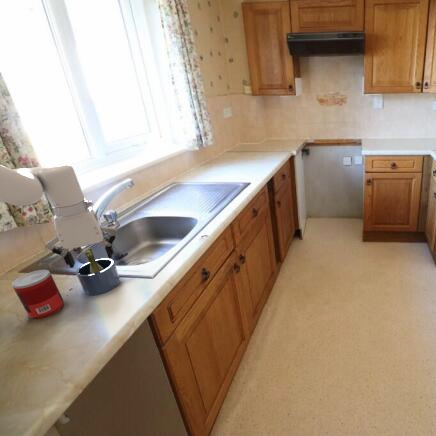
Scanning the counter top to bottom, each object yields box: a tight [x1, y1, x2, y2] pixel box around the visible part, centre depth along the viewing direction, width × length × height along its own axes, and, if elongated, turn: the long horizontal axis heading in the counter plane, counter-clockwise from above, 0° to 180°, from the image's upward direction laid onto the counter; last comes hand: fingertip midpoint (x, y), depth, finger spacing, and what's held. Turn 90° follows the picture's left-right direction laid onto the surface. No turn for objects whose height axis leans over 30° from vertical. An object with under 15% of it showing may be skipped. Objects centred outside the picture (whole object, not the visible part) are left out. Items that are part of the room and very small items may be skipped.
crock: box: [75, 257, 121, 296], centre depth 99 cm, size 10×10×7 cm
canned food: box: [11, 269, 65, 320], centre depth 89 cm, size 8×8×11 cm
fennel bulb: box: [84, 247, 105, 275], centre depth 98 cm, size 6×5×12 cm
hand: (92, 260), depth 97 cm, fingers open, 9 cm apart
